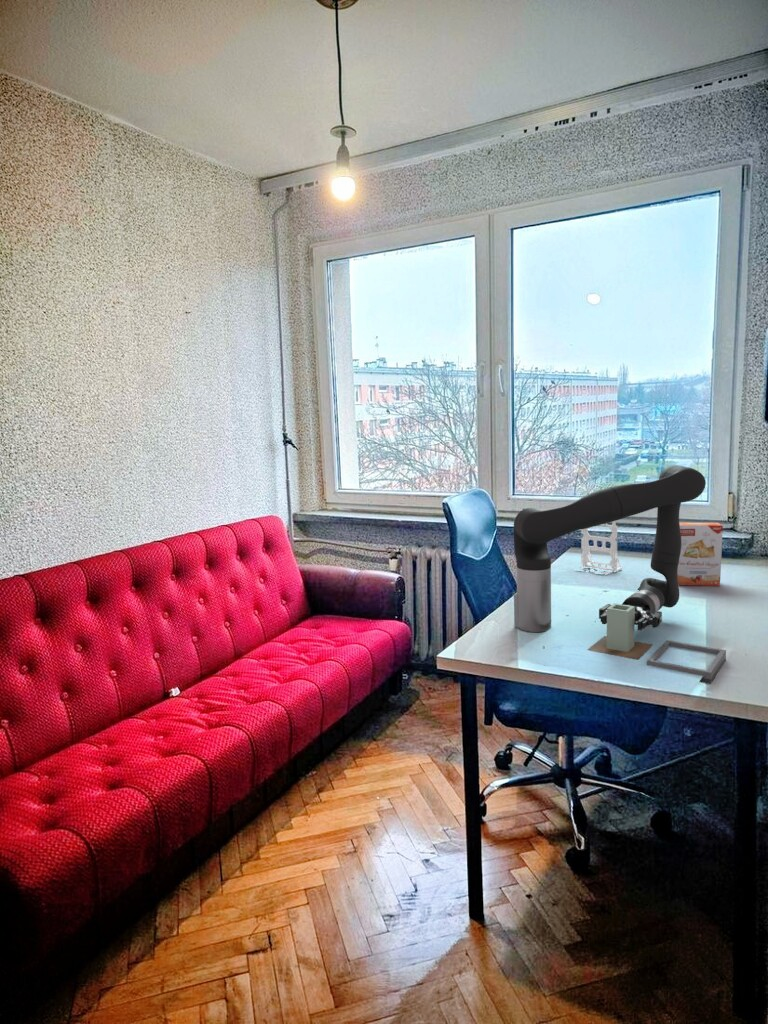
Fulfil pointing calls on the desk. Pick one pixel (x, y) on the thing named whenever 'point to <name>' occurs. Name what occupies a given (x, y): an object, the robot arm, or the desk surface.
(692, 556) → the cracker box
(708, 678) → the grey tray
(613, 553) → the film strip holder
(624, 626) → the sleeve
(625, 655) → the board
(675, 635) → the desk surface
